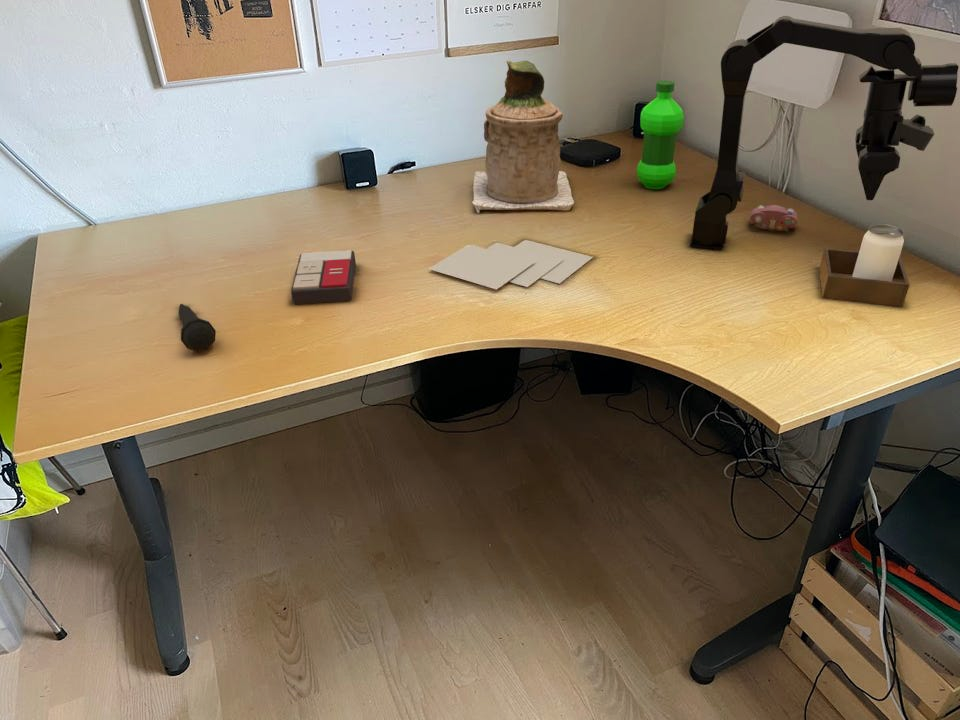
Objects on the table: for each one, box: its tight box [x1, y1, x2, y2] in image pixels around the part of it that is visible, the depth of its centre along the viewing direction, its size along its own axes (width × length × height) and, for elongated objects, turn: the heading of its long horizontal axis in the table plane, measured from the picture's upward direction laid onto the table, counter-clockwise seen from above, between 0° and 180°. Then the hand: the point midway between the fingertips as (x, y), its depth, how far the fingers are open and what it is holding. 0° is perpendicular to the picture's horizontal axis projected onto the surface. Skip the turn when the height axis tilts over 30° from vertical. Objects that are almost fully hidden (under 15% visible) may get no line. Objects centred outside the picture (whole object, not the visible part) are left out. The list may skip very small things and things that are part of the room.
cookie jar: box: [471, 59, 575, 214], centre depth 172 cm, size 25×25×32 cm
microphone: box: [178, 303, 217, 352], centre depth 128 cm, size 6×6×20 cm
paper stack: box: [428, 239, 594, 291], centre depth 147 cm, size 23×25×1 cm
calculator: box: [290, 249, 357, 305], centre depth 141 cm, size 11×4×15 cm
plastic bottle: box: [636, 80, 685, 190], centre depth 176 cm, size 10×10×25 cm
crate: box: [818, 247, 910, 308], centre depth 134 cm, size 13×12×4 cm
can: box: [851, 223, 905, 281], centre depth 131 cm, size 6×6×12 cm
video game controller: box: [749, 204, 799, 232], centre depth 157 cm, size 10×5×7 cm, turn 68°
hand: (868, 191), depth 136 cm, fingers open, 9 cm apart
